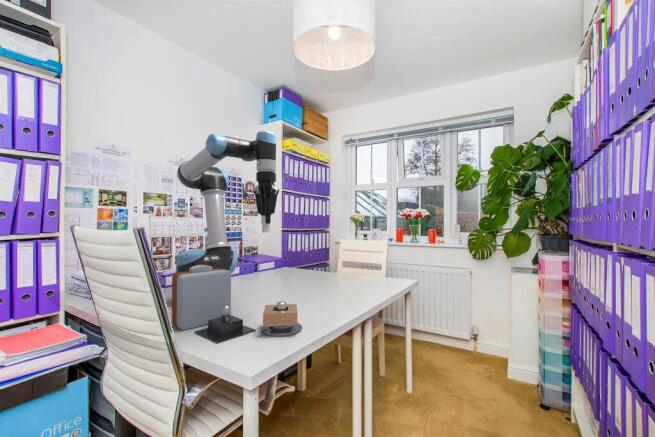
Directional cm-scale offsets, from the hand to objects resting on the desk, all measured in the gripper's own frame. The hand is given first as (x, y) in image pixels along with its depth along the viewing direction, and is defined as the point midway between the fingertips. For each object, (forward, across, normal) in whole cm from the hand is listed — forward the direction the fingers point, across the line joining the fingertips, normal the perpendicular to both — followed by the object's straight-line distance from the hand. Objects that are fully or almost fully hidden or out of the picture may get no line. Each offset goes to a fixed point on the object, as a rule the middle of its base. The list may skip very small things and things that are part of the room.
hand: (265, 232), depth 122 cm
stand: (+32, +4, -20) cm, 38 cm away
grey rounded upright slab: (+33, -11, -20) cm, 40 cm away
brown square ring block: (+29, +16, -6) cm, 34 cm away
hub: (+32, +16, -6) cm, 37 cm away
